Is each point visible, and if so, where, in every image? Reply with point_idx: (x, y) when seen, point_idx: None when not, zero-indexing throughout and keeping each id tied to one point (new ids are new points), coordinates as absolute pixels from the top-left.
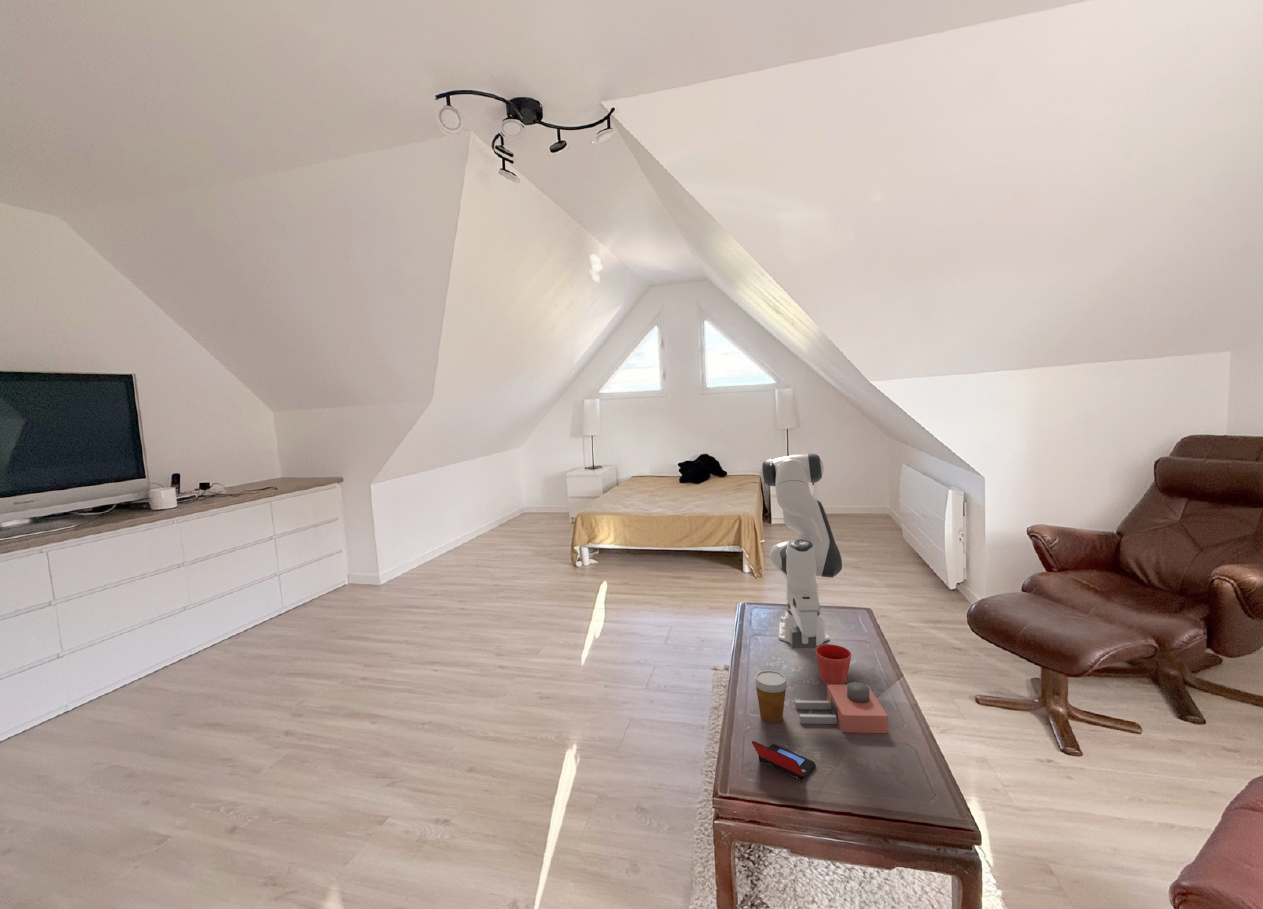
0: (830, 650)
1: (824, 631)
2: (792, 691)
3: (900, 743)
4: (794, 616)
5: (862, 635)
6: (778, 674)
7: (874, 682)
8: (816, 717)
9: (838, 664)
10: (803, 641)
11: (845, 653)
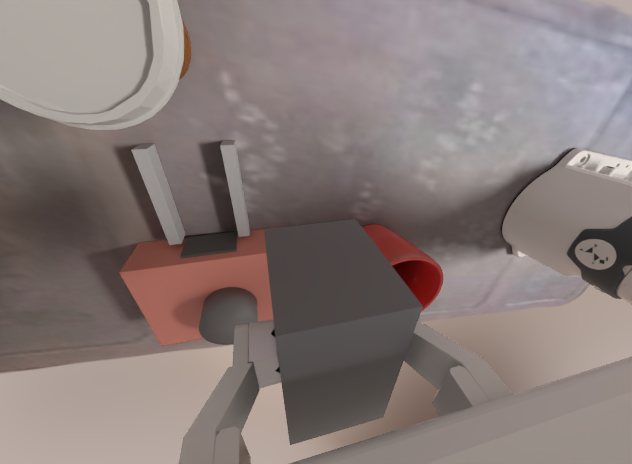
0: (426, 280)
1: (533, 258)
2: (318, 146)
3: (142, 326)
4: (516, 461)
5: (500, 300)
6: (138, 81)
7: None
8: (150, 196)
9: None
10: (235, 341)
11: None
